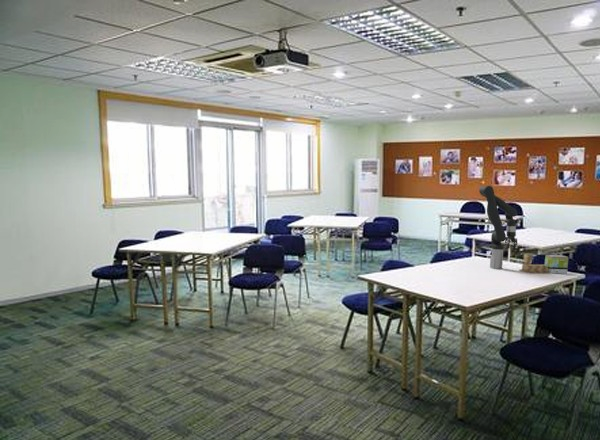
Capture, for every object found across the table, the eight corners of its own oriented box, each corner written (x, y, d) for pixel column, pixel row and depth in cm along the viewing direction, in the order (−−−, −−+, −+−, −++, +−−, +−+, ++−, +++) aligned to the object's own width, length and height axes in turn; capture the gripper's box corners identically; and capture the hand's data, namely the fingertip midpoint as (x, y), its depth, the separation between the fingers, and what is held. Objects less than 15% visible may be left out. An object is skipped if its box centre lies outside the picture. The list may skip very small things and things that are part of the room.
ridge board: (529, 273, 386) (529, 266, 386) (519, 270, 399) (519, 263, 399) (550, 273, 390) (550, 266, 389) (539, 270, 403) (540, 263, 402)
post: (526, 270, 402) (527, 254, 402) (523, 269, 406) (524, 253, 406) (530, 270, 403) (531, 254, 402) (527, 269, 407) (528, 253, 406)
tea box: (551, 273, 390) (552, 256, 389) (543, 271, 400) (544, 254, 399) (567, 273, 392) (568, 256, 391) (559, 271, 402) (560, 254, 401)
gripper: (502, 230, 415) (502, 248, 416) (512, 232, 401) (512, 250, 402) (510, 230, 416) (510, 247, 418) (520, 231, 402) (520, 250, 404)
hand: (511, 249), depth 410 cm, fingers open, 8 cm apart
